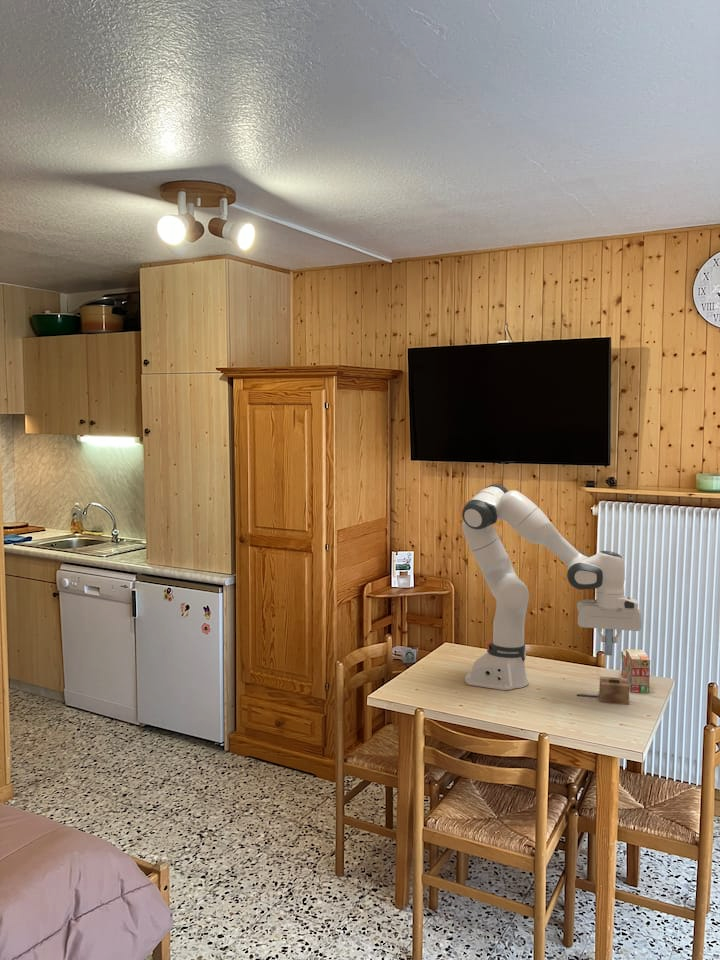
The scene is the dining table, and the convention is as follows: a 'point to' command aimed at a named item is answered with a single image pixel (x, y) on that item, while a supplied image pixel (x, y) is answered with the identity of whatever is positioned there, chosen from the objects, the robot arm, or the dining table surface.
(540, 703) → the dining table surface
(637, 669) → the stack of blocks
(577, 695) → the lace
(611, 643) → the blue-grey upright bar
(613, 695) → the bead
